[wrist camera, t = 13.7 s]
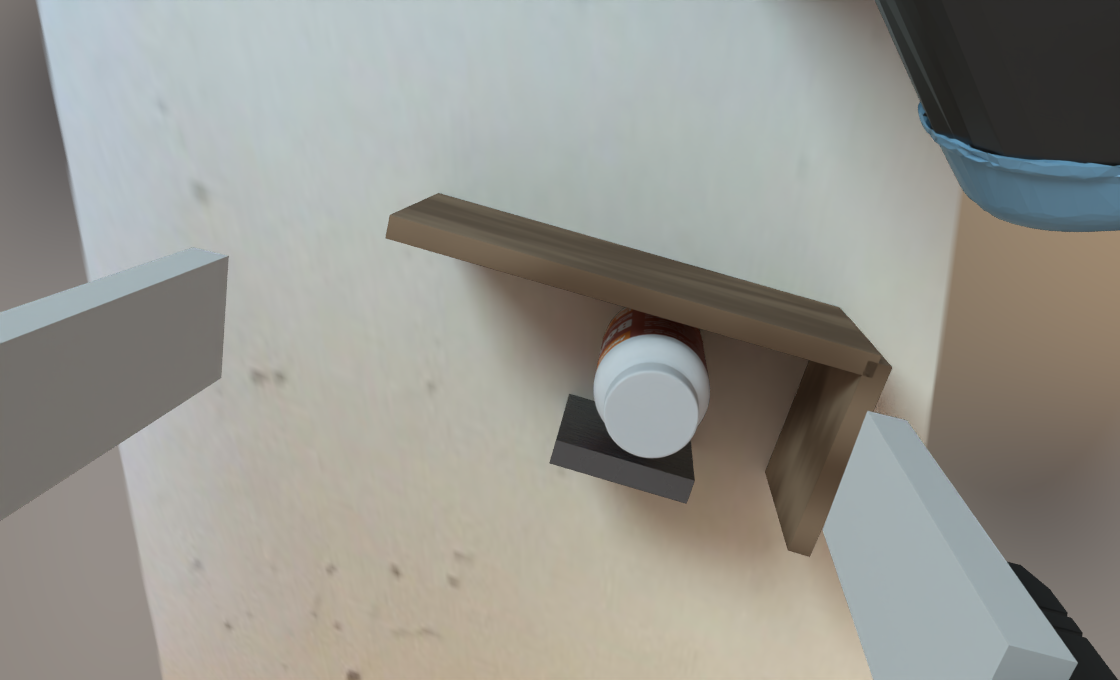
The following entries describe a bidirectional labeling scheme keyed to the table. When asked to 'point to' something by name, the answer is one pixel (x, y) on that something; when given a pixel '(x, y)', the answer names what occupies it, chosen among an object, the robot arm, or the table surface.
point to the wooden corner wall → (699, 301)
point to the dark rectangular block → (617, 455)
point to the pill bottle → (651, 383)
